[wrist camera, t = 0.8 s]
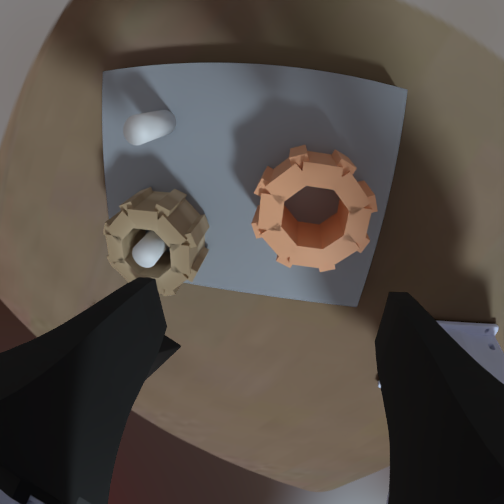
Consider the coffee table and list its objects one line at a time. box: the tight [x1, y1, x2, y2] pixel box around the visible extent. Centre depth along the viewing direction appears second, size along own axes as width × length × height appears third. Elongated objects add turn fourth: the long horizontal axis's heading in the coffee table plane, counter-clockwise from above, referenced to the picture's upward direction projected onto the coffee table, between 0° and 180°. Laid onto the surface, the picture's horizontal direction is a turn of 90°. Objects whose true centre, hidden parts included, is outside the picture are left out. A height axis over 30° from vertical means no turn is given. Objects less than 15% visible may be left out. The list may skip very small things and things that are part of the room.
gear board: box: [102, 63, 407, 307], centre depth 15 cm, size 16×13×4 cm
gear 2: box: [251, 145, 378, 272], centre depth 14 cm, size 6×6×3 cm
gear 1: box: [103, 187, 210, 296], centre depth 16 cm, size 6×6×4 cm
